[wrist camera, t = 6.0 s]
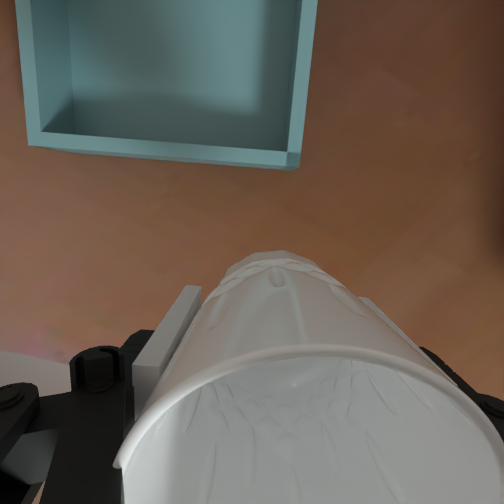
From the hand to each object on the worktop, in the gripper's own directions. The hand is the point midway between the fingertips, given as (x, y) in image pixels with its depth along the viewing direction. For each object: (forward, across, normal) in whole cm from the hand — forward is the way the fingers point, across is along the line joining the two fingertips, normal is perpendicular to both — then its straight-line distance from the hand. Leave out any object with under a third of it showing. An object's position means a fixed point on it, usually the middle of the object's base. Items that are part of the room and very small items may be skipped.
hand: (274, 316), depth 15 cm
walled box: (+19, +10, -18) cm, 28 cm away
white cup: (+1, 0, 0) cm, 1 cm away
